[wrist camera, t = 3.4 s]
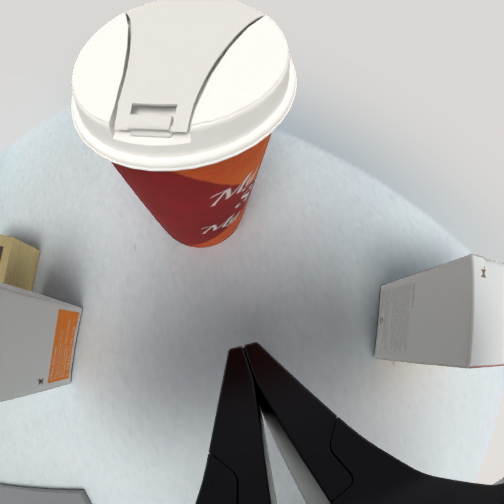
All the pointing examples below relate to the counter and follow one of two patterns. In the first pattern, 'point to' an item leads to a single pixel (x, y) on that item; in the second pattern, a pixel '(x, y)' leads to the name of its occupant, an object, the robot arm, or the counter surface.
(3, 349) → the skincare box
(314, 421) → the robot arm
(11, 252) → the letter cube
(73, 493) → the slate pad
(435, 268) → the small box
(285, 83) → the coffee cup
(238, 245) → the counter surface
